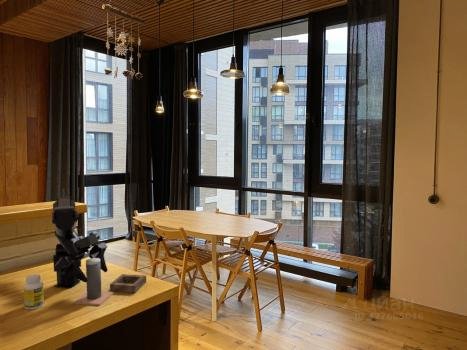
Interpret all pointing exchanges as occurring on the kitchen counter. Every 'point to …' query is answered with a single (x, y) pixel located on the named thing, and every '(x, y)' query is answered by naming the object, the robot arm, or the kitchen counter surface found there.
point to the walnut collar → (131, 288)
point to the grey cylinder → (93, 278)
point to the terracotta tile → (98, 302)
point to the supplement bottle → (33, 292)
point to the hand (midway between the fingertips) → (97, 276)
